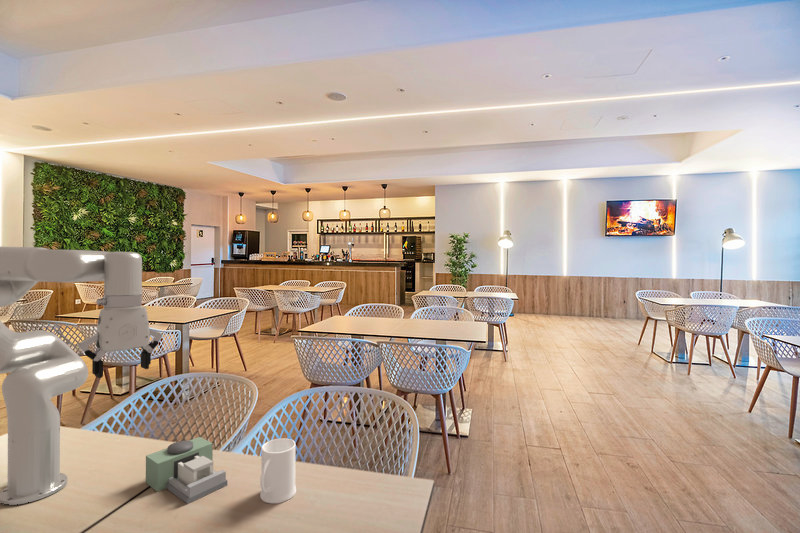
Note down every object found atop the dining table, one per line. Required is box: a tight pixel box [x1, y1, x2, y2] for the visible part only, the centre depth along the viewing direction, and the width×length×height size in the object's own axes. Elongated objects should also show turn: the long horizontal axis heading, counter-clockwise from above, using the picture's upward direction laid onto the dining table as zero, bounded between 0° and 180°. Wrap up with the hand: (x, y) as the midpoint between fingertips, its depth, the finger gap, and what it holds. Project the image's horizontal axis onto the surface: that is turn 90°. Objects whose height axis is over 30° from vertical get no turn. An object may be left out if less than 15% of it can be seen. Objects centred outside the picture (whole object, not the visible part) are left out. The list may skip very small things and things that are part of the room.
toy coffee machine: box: [145, 436, 228, 505], centre depth 102 cm, size 18×14×8 cm
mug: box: [259, 437, 297, 504], centre depth 95 cm, size 12×8×12 cm
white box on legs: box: [178, 456, 214, 486], centre depth 100 cm, size 8×5×5 cm, turn 54°
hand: (122, 372), depth 95 cm, fingers open, 9 cm apart
